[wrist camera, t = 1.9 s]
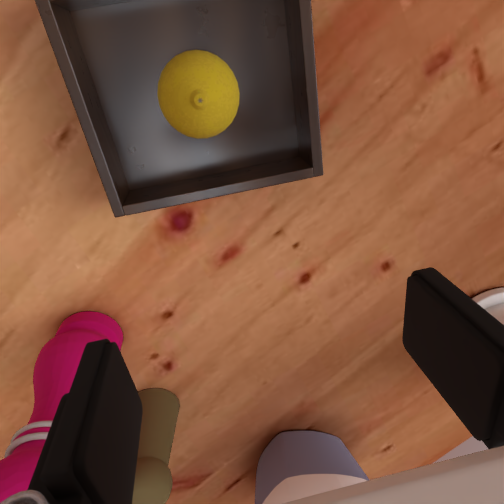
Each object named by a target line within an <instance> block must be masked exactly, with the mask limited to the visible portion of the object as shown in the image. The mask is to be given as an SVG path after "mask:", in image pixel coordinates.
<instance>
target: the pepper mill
mask: <svg viewBox="0 0 504 504" xmlns="http://www.w3.org/2000/svg"><path fill="white" fill-rule="evenodd" d="M102 339H108V340H109V341H110V342H116V344H117V345H118V348H119V350H121V346H122V342H123V333H122V330H121V328H120V326H119V325H118V324H117V322H116V321H115V320H114V319H112V318H110V317H109V316H107V315H105V314H102V313H99V312H92V311H86V312H79V313H76V314H73V315H71V316H69V317H68V318H66V319H65V320H64V321H63V322H62V324H61V325H60V327H59V329H58V331H57V333H56V335H55V337H54V338H52V339H51V340H50V341H48V342H47V343H46V344H45V345H44V347H43V348H42V349H41V351H40V353H39V355H38V358H37V361H36V363H35V367H34V375H33V384H34V396H35V403H34V409H33V413H32V415H31V418H30V420H29V422H28V424H27V425H26V426H24V427H22V428H21V429H19V430H18V431H17V432H16V433H15V434H14V436H13V437H12V440H11V444H10V445H9V446H8V448H7V450H6V452H5V458H4V459H2V460H1V461H0V503H1V502H2V501H4V500H5V499H7V498H8V497H9V496H11V495H14V494H16V493H18V492H20V491H25V490H28V487H29V484H30V481H31V479H32V476H33V473H34V471H35V468H36V465H37V462H38V460H39V457H40V454H41V451H42V449H43V446H44V443H45V441H46V438H47V435H48V432H49V430H50V427H51V424H52V422H53V419H54V416H55V413H56V411H57V408H58V405H59V402H60V400H61V398H62V396H63V395H64V394H66V393H69V391H70V388H71V386H72V383H73V380H74V377H75V374H76V371H77V368H78V366H79V363H80V360H81V357H82V354H83V351H84V348H85V346H86V344H87V343H88V342H93V341H97V340H102Z"/></svg>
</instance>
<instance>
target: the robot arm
mask: <svg viewBox="0 0 504 504" xmlns="http://www.w3.org/2000/svg"><path fill="white" fill-rule="evenodd" d="M403 344H404V347H405V349H406V351H407V352H408V353H409V354H410V356H411V357H412V358H413V360H414V361H415V362H416V363H417V365H418V366H419V367H420V369H421V370H422V371H423V372H424V374H425V375H426V376H427V378H428V379H429V380H430V381H431V383H432V384H433V385H434V387H435V388H436V389H437V390H438V392H439V393H440V394H441V396H442V397H443V398H444V399H445V401H446V402H447V403H448V405H449V406H450V407H451V408H452V410H453V411H454V412H455V413H456V415H457V416H458V417H459V419H460V420H461V421H462V422H463V424H464V425H465V426H466V428H467V429H468V430H469V431H470V433H471V434H472V435H473V436H474V438H476V439H477V440H479V441H481V440H482V441H483V442H484V443H485V445H486V446H487V447H488V450H484V451H480V452H476V453H472V454H468V455H464V456H460V457H457V458H453V459H449V460H445V461H442V462H437V463H434V464H430V465H426V466H422V467H418V468H414V469H410V470H407V471H403V472H399V473H395V474H391V475H387V476H384V477H380V478H376V479H372V480H369V481H365V482H361V483H357V484H354V485H350V486H346V487H342V488H338V489H335V490H331V491H327V492H324V493H320V494H316V495H312V496H309V497H305V498H301V499H297V500H294V501H290V502H286V503H282V504H504V288H497V289H492V290H489V291H486V292H484V293H481V294H479V295H477V296H475V297H473V298H472V299H471V298H470V297H469V296H468V295H466V294H465V293H464V292H463V291H461V290H460V289H459V288H458V287H456V286H455V285H454V284H453V283H452V282H450V281H449V280H448V279H447V278H445V277H444V276H443V275H442V274H441V273H439V272H438V271H437V270H436V269H434V268H431V267H430V268H426V269H421V270H416V271H414V272H413V273H412V275H411V276H410V277H408V279H407V289H406V302H405V314H404V326H403ZM142 414H143V407H142V402H141V399H140V397H139V394H138V392H137V390H136V387H135V385H134V383H133V380H132V378H131V376H130V373H129V371H128V369H127V366H126V364H125V362H124V359H123V357H122V355H121V352H120V350H119V348H118V345H117V344H116V342H110V341H109V340H108V339H102V340H97V341H93V342H88V343H87V344H86V346H85V348H84V351H83V354H82V357H81V360H80V363H79V366H78V368H77V371H76V374H75V377H74V380H73V383H72V386H71V388H70V391H69V393H66V394H64V395H63V396H62V398H61V400H60V402H59V405H58V408H57V411H56V413H55V416H54V419H53V422H52V424H51V427H50V430H49V432H48V435H47V438H46V441H45V443H44V446H43V449H42V451H41V454H40V457H39V460H38V462H37V465H36V468H35V471H34V473H33V476H32V479H31V481H30V484H29V487H28V490H25V491H20V492H18V493H16V494H14V495H11V496H9V497H8V498H7V499H5V500H4V501H2V502H1V503H0V504H132V499H133V491H134V482H135V474H136V465H137V457H138V448H139V440H140V431H141V423H142Z"/></svg>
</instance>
